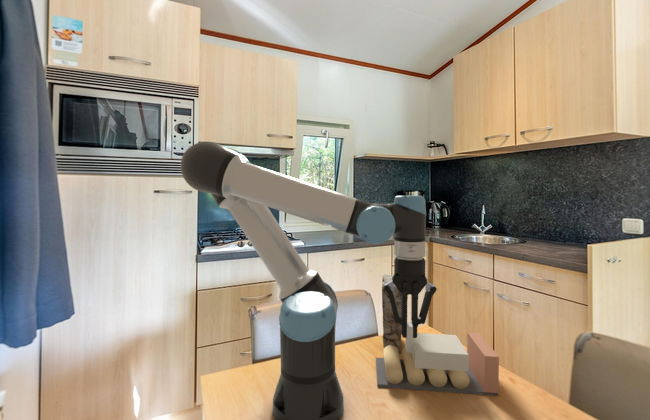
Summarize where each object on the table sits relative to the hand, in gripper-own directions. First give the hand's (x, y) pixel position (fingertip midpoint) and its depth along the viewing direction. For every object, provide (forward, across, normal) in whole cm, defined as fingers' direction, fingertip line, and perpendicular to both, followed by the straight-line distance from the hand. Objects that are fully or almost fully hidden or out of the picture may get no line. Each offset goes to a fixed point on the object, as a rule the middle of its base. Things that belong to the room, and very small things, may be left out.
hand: (409, 349), depth 77 cm
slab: (+2, +7, 0) cm, 7 cm away
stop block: (+7, +17, 0) cm, 19 cm away
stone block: (+7, -3, +16) cm, 18 cm away
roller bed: (+7, +5, 0) cm, 8 cm away
